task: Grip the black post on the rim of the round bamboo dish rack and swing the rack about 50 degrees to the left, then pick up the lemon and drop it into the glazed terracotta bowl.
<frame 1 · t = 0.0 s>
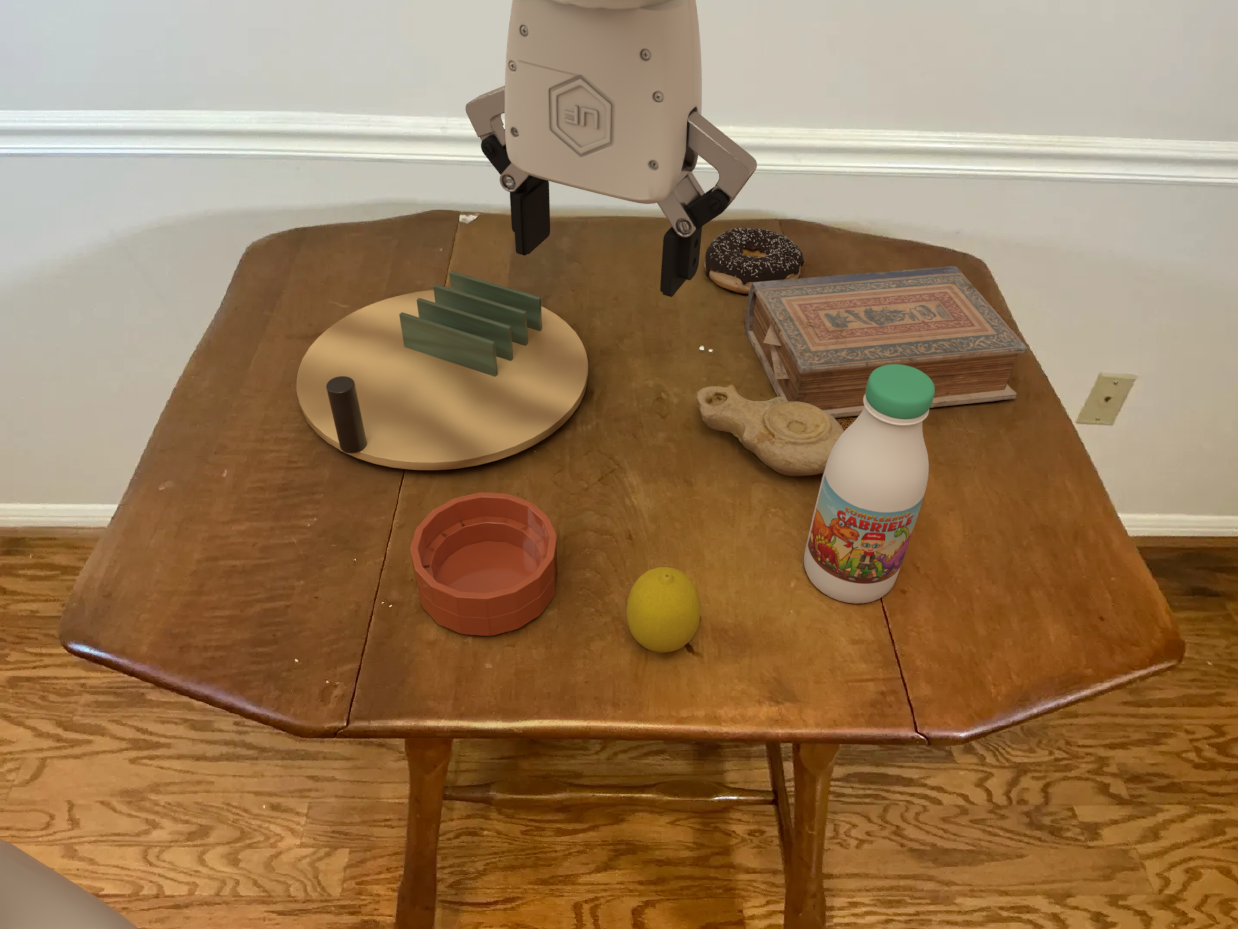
hand: (602, 264, 57), 30 cm above the table, tool pointing down, fingers open, 9 cm apart
book: (867, 366, 101), on the table
donut: (752, 275, 114), on the table
bowl: (488, 584, 77), on the table
lemon: (660, 644, 73), on the table
milk bottle: (847, 572, 79), on the table
dish rack: (439, 342, 93), point 5 cm above the table, hinge at 0.0°
oil lamp: (767, 454, 90), on the table
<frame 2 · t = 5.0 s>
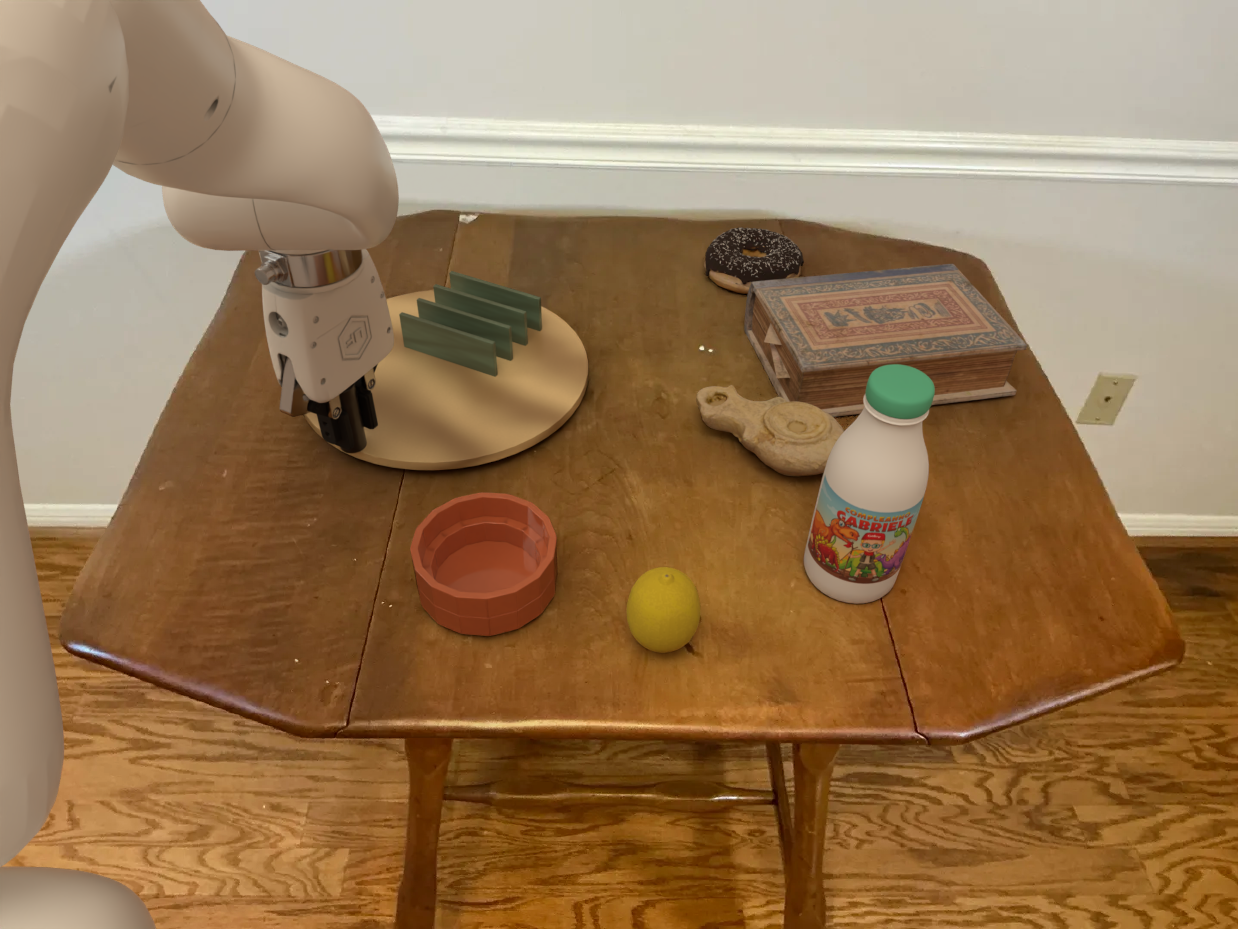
hand: (350, 431, 85), 4 cm above the table, tool pointing down, fingers closed on dish rack, 2 cm apart
dish rack: (439, 342, 93), point 5 cm above the table, hinge at 0.0°, touching gripper
everything else where it was.
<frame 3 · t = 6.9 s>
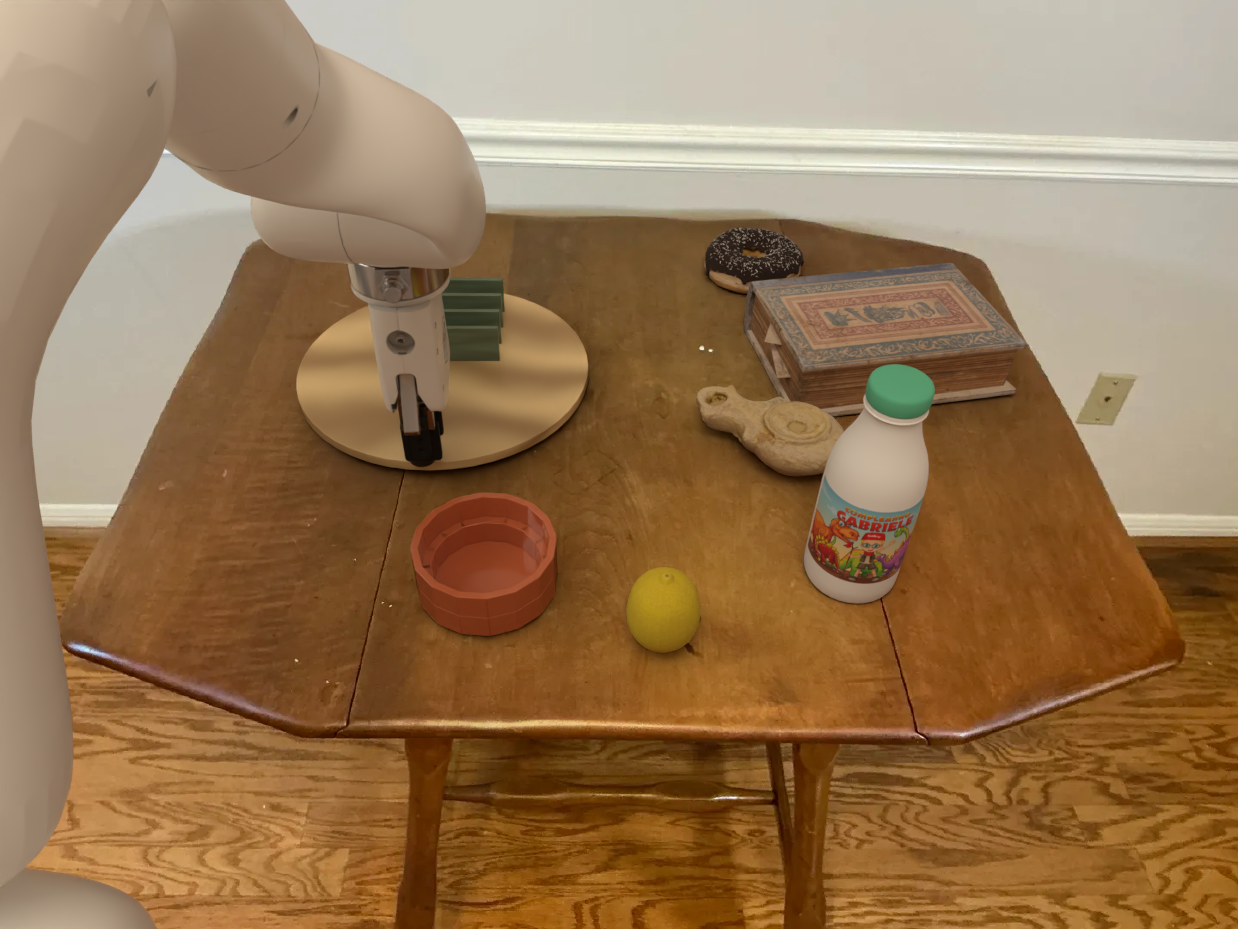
hand: (425, 445, 84), 4 cm above the table, tool pointing down, fingers closed on dish rack, 2 cm apart
dish rack: (441, 343, 93), point 5 cm above the table, hinge at 28.1°, touching gripper
everything else where it was.
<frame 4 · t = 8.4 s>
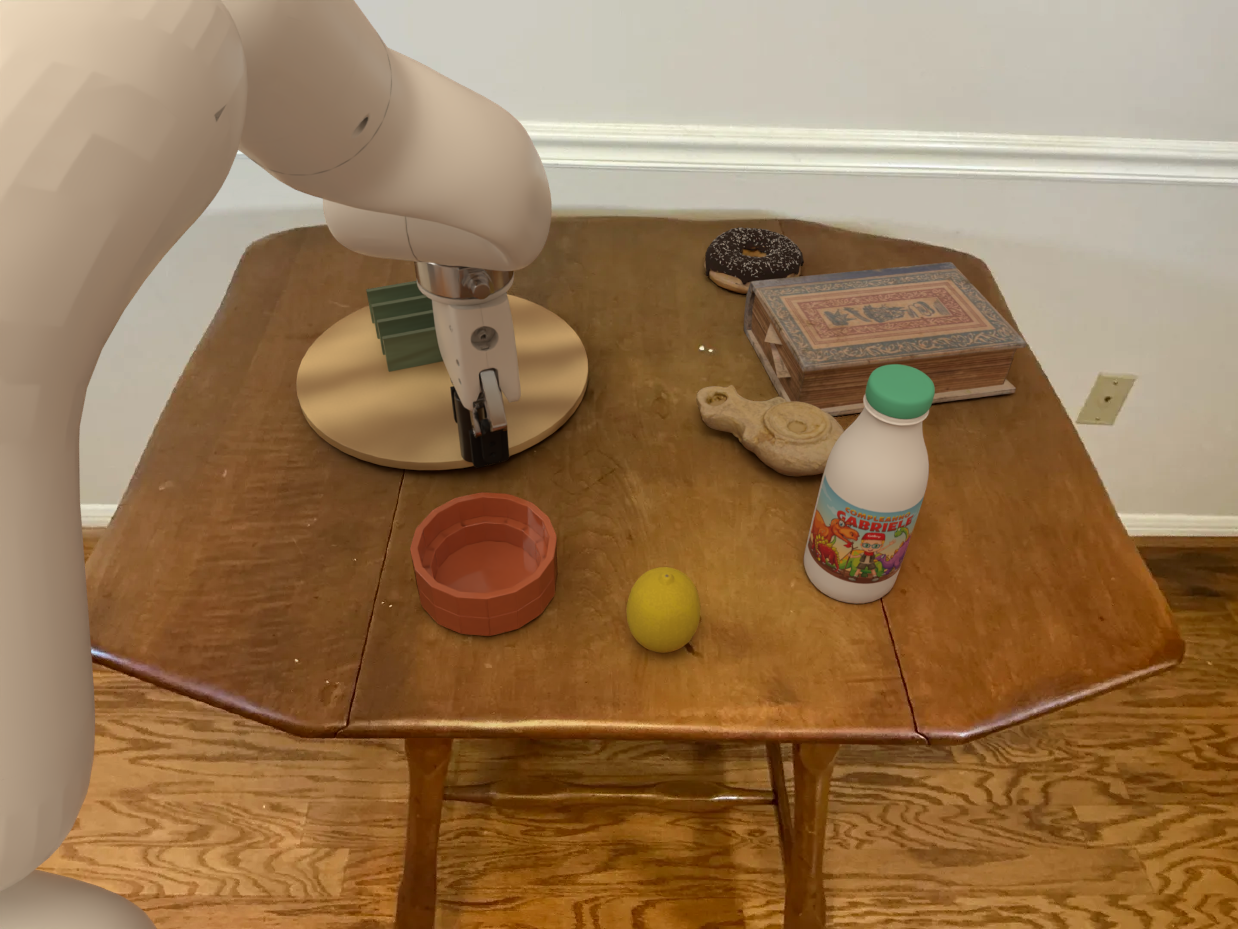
hand: (481, 438, 85), 4 cm above the table, tool pointing down, fingers open, 5 cm apart
dish rack: (442, 343, 93), point 5 cm above the table, hinge at 46.9°
everything else where it was.
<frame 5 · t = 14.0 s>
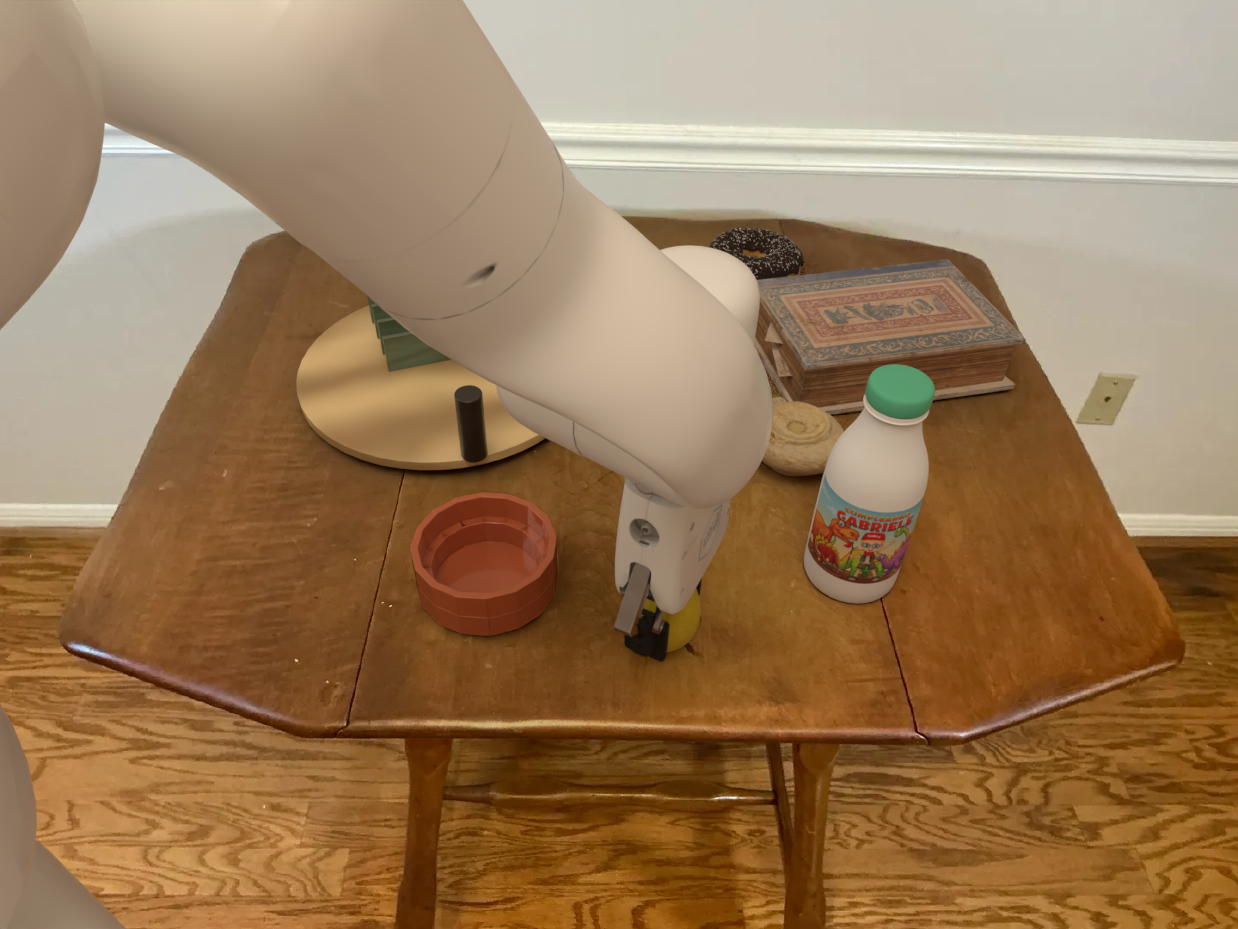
hand: (662, 619, 71), 3 cm above the table, tool pointing down, fingers closed on lemon, 5 cm apart
lemon: (660, 644, 73), on the table, touching gripper
everything else where it was.
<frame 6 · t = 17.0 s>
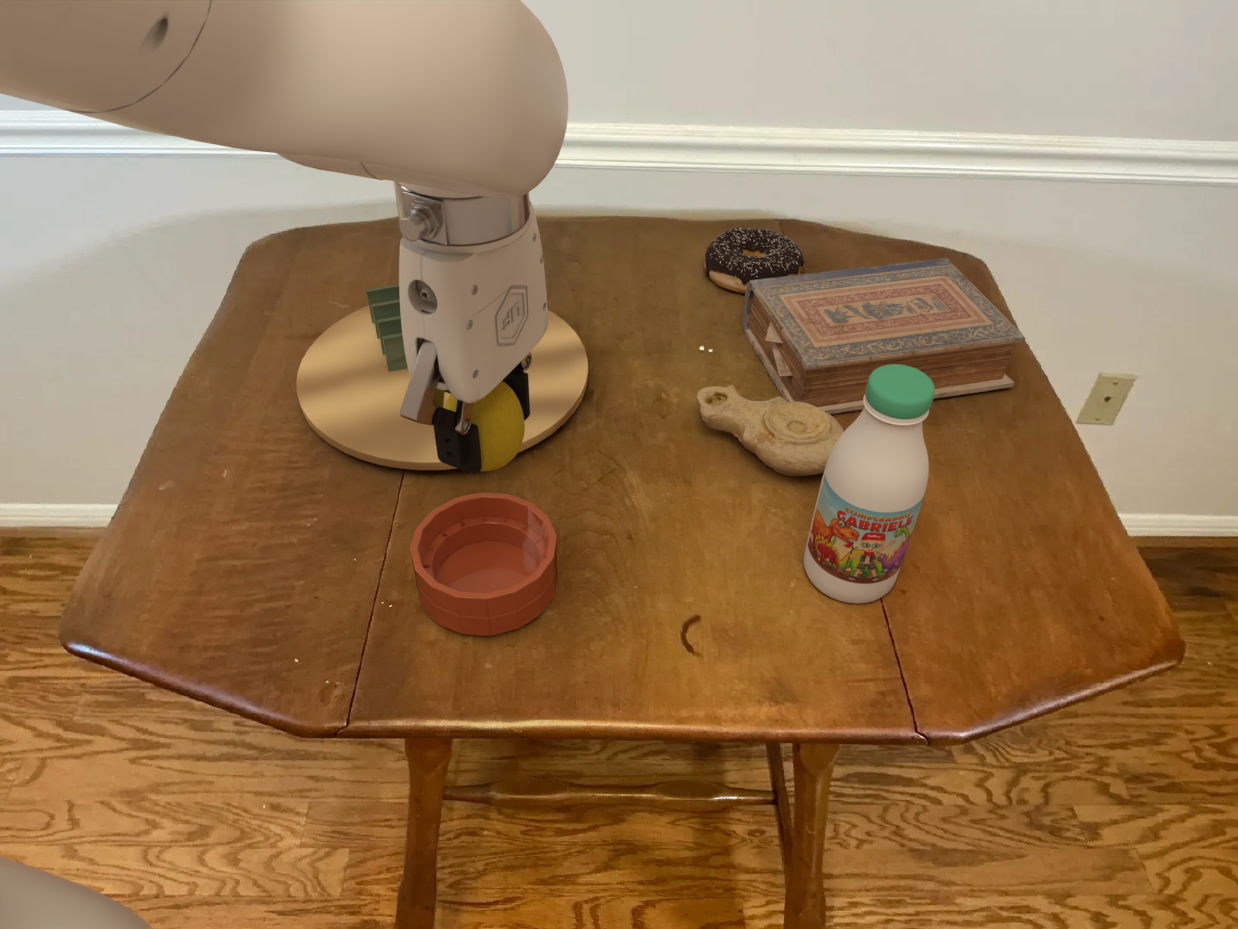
hand: (485, 436, 66), 16 cm above the table, tool pointing down, fingers closed on lemon, 5 cm apart
lemon: (488, 469, 68), point 13 cm above the table, touching gripper
when the fingers open (4 cm above the table, at t = 20.4 s): lemon stays where it is, resting on bowl.
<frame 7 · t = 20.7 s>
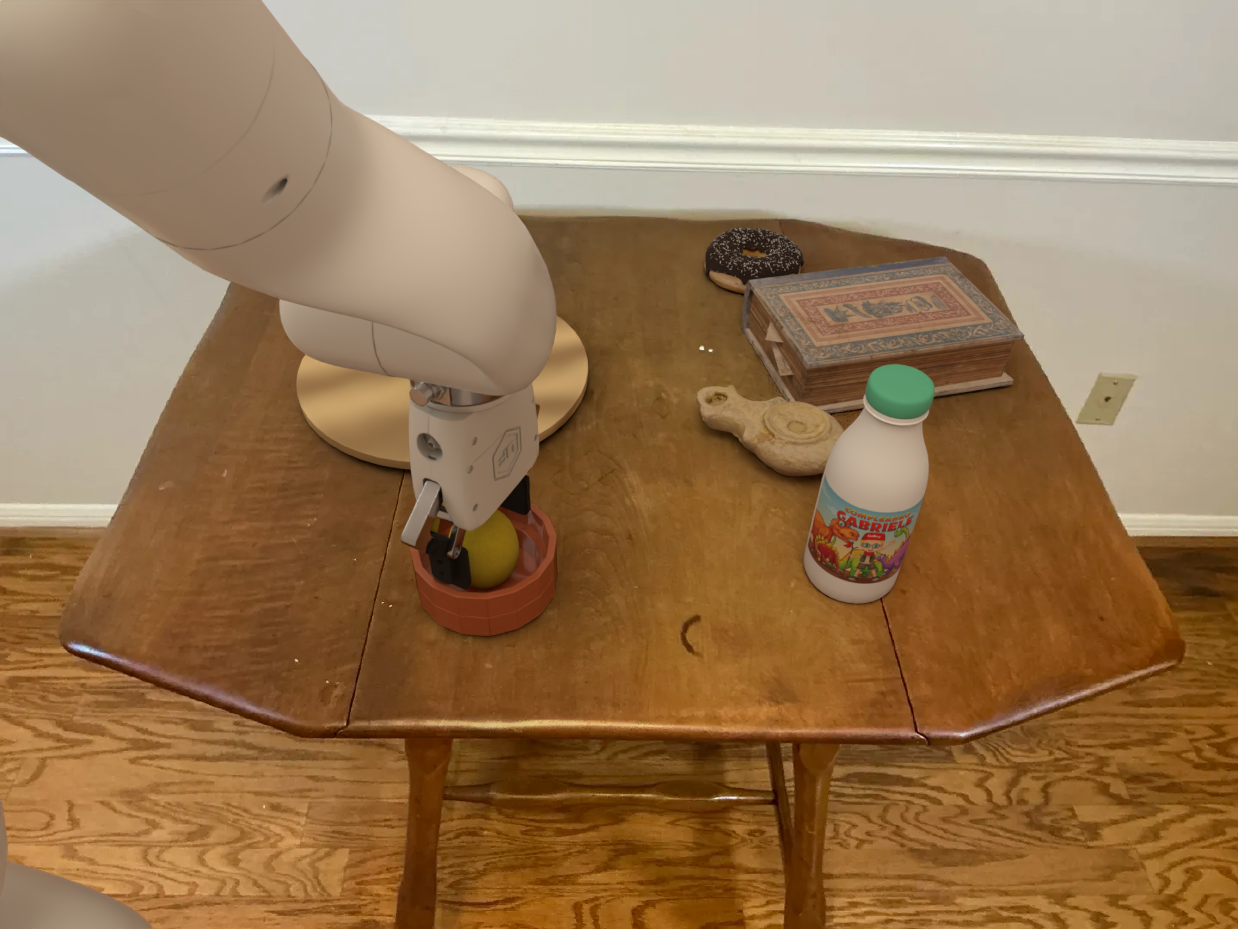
hand: (483, 542, 74), 5 cm above the table, tool pointing down, fingers open, 8 cm apart
lemon: (487, 583, 77), resting on bowl
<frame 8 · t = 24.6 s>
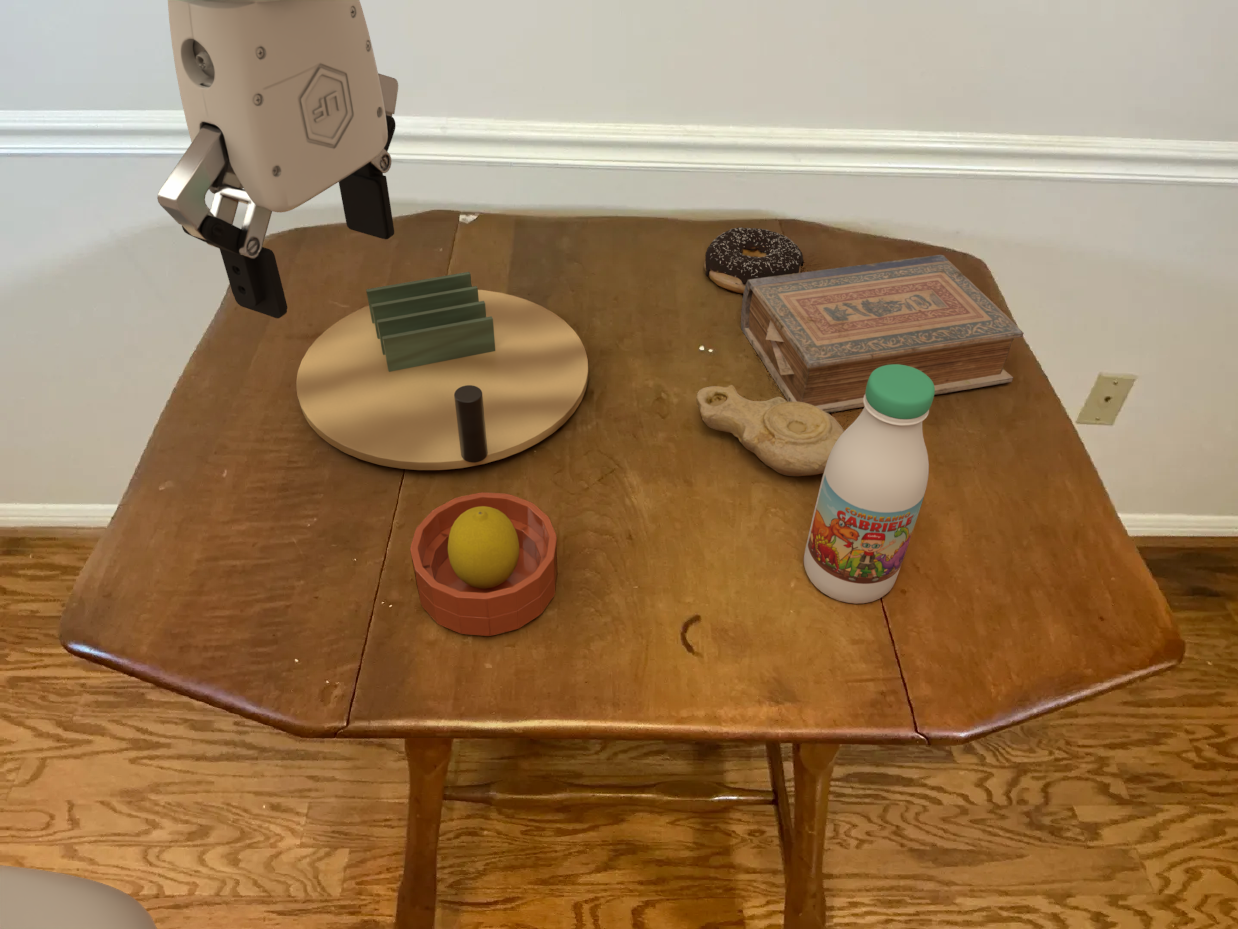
hand: (320, 268, 55), 30 cm above the table, tool pointing down, fingers open, 9 cm apart
at the end: dish rack at +47° (first picture: +0°); lemon inside the target area in the bowl (0.2 cm from its centre), point 0.3 cm above the bowl's base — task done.
